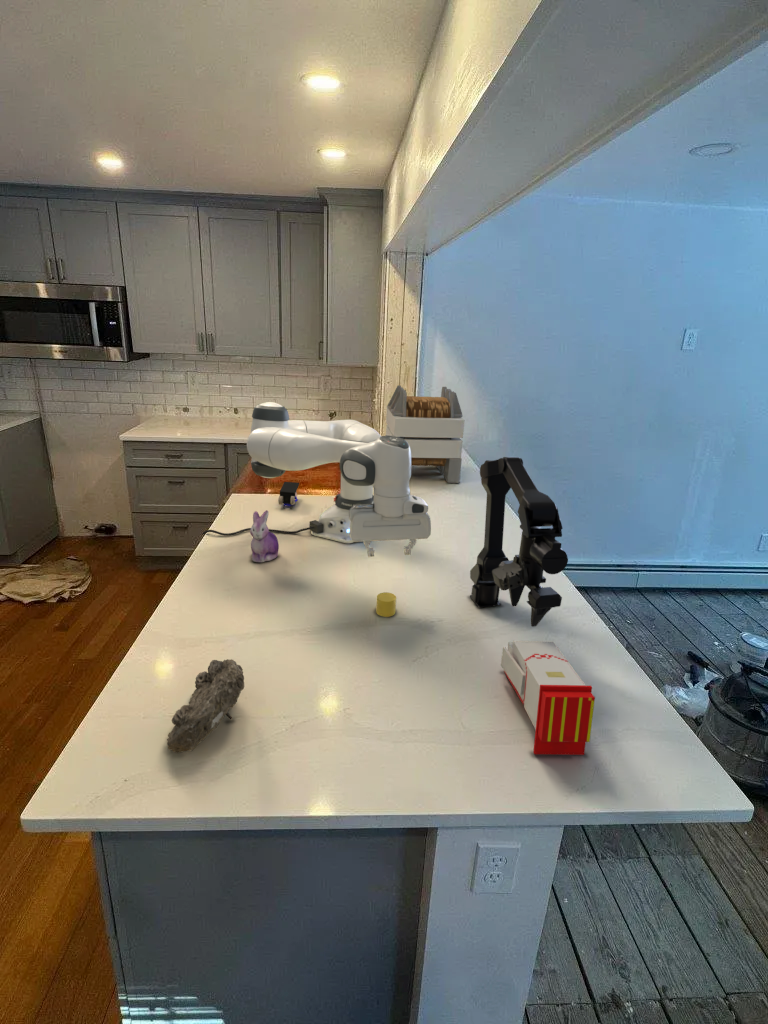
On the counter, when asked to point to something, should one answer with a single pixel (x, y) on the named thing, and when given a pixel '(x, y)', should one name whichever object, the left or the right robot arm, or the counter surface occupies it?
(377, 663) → the counter surface
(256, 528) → the figurine
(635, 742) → the counter surface
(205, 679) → the fossil
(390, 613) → the yellow cylinder
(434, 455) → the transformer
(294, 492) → the black toy vehicle
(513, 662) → the toy
